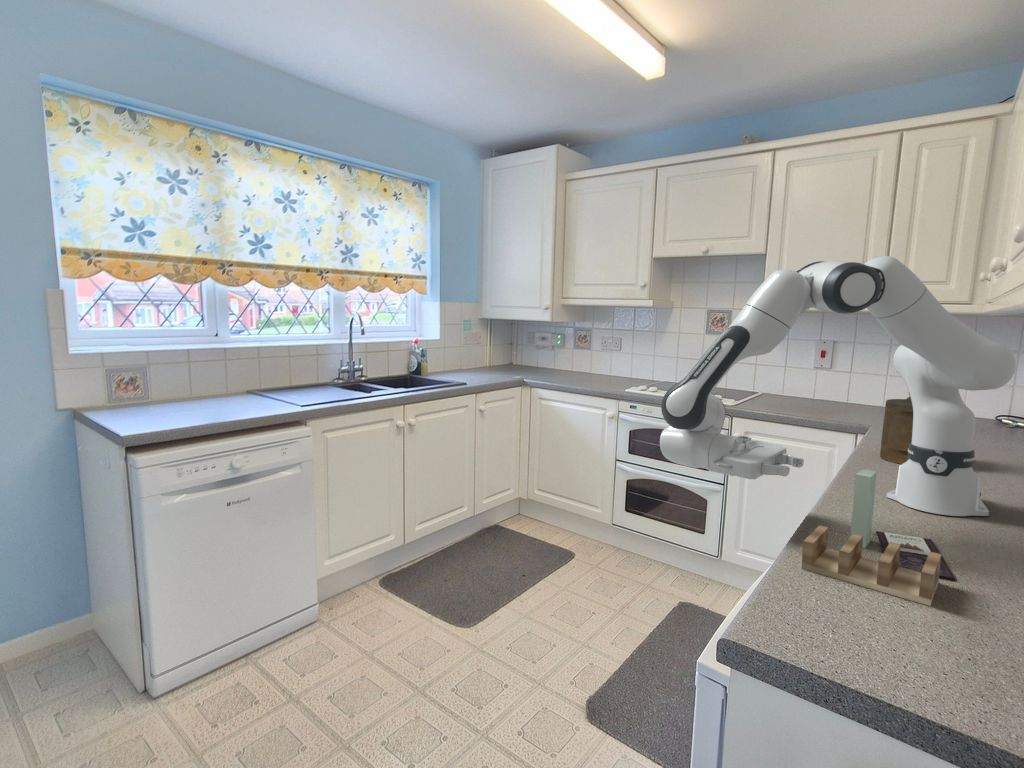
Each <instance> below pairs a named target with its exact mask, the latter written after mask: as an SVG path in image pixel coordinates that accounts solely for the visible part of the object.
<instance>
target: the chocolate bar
mask: <svg viewBox="0 0 1024 768" xmlns="http://www.w3.org/2000/svg"><path fill="white" fill-rule="evenodd" d="M876 534H877V535H876ZM875 535H876V537H877V536H878V537H877V540H878V539H879V540H878V542H880V543H879V545H880V544H881V545H880V547H882V548H881V550H882V549H883V550H882V552H884V551H885V549H886V548H887V546H888V545H889V543H890V542H892V543H896V544H901V546H900V557H899V567H902V568H905V569H909V570H913V571H917V572H921V571H922V569H923V566H924V564H925V562H926V559H927V557H928V555H929V552H934V553H939V554H941V553H940V551H939V549H938V548H937V546H936V545H935V543H934V542H933V540H932V539H931V538H926V537H925V538H924V537H920V536H919V537H918V536H912V535H906V534H899V533H891V532H885V531H879V530H876V532H875ZM944 579H945V580H946V581H950V582H951V581H952V582H956V577H955V575H954V574H953V572H952V570H951V569H950V567H949V565H948V564H947V562H946V561H945V560H944V557H943V555H941V562H940V572H939V580H944Z"/></svg>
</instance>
